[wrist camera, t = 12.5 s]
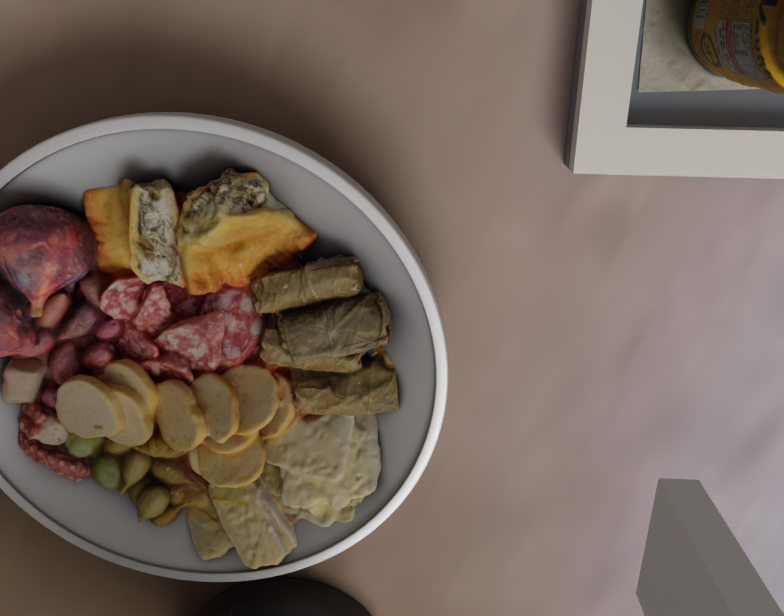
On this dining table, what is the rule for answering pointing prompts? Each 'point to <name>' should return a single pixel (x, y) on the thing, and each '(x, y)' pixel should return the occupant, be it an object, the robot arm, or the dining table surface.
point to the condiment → (712, 45)
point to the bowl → (209, 348)
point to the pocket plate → (660, 112)
